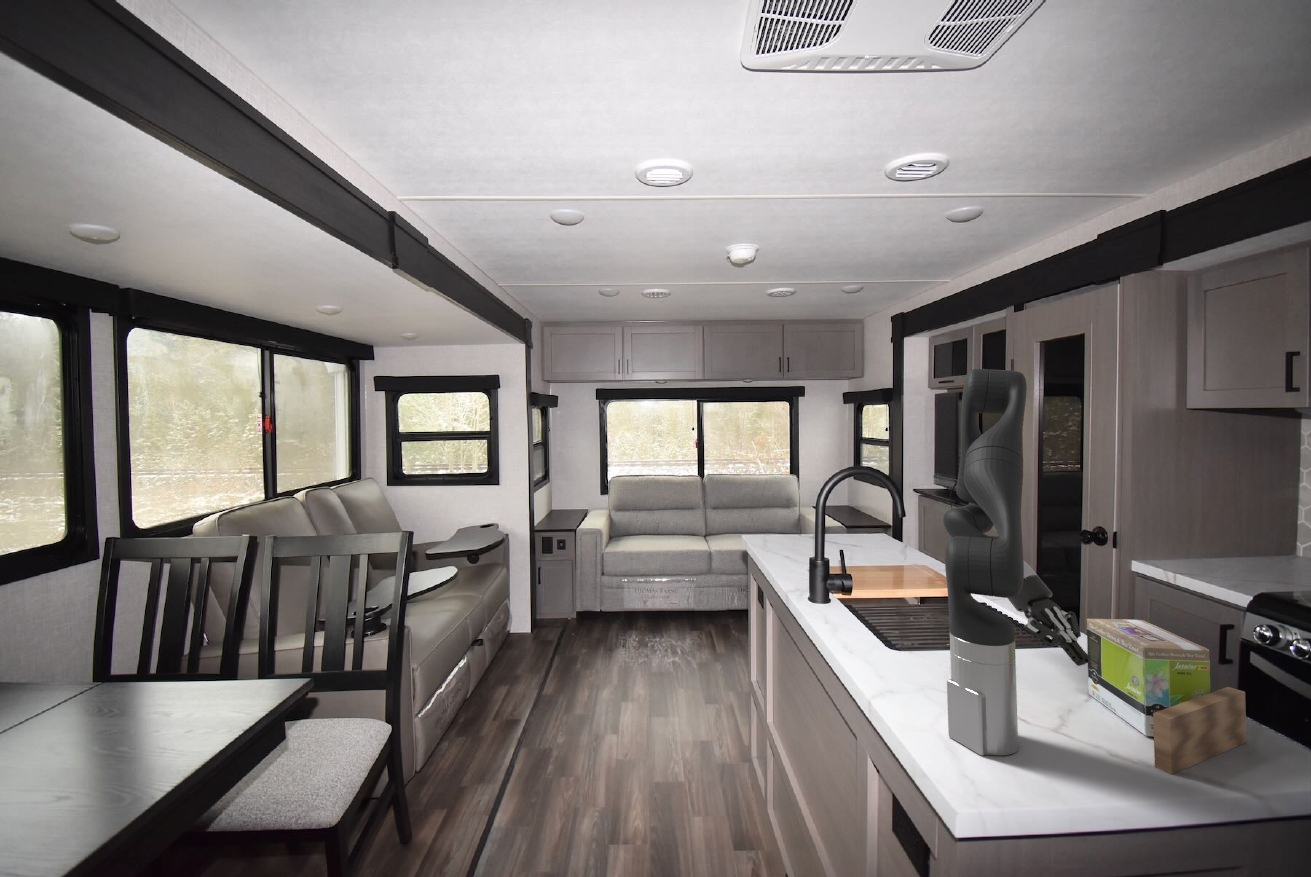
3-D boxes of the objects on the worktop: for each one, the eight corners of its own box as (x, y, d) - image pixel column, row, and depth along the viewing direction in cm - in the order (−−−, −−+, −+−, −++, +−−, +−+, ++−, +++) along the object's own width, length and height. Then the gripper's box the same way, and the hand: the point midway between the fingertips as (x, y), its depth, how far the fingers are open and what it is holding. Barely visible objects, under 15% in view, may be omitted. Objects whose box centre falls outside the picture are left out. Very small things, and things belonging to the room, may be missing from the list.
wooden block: (1171, 774, 79) (1169, 719, 79) (1154, 766, 81) (1153, 713, 81) (1246, 742, 86) (1245, 691, 86) (1229, 735, 88) (1228, 686, 88)
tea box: (1215, 741, 87) (1212, 649, 86) (1144, 738, 88) (1141, 647, 88) (1145, 696, 101) (1143, 617, 101) (1086, 694, 103) (1083, 616, 103)
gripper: (1009, 577, 110) (1076, 661, 98) (1053, 569, 114) (1122, 648, 103) (985, 596, 115) (1047, 678, 103) (1028, 588, 119) (1092, 665, 108)
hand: (1084, 663), depth 103 cm, fingers closed
